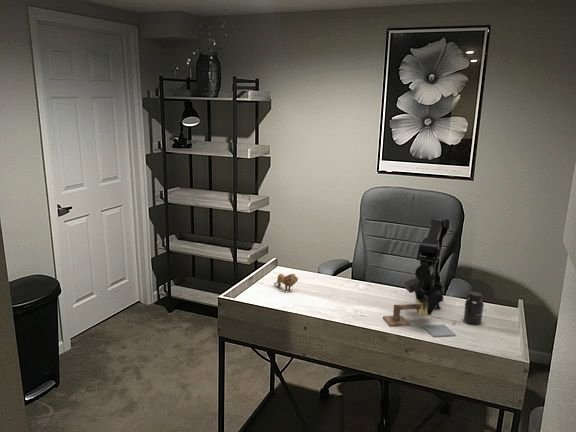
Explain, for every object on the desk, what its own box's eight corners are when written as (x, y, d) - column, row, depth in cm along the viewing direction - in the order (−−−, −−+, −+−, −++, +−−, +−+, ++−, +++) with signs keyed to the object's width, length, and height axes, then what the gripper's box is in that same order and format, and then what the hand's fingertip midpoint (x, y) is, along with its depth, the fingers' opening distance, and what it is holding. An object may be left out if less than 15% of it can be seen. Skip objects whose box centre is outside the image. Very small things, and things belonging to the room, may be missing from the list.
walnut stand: (430, 316, 198) (431, 300, 197) (439, 324, 191) (440, 308, 189) (382, 318, 195) (384, 302, 194) (390, 326, 187) (391, 310, 186)
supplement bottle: (479, 326, 189) (482, 298, 187) (461, 322, 193) (464, 294, 190) (482, 320, 195) (486, 293, 193) (465, 316, 199) (468, 289, 196)
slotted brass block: (426, 311, 196) (428, 298, 195) (431, 315, 191) (433, 303, 190) (415, 311, 195) (416, 299, 194) (420, 316, 190) (421, 303, 189)
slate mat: (444, 325, 189) (444, 324, 189) (455, 336, 181) (455, 334, 181) (423, 326, 188) (423, 325, 188) (433, 337, 179) (433, 335, 179)
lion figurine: (299, 292, 221) (300, 273, 220) (291, 295, 218) (292, 276, 216) (277, 284, 232) (278, 266, 230) (269, 286, 228) (269, 268, 226)
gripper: (398, 266, 197) (396, 301, 200) (418, 281, 179) (414, 320, 182) (424, 265, 199) (421, 300, 202) (445, 280, 181) (442, 319, 184)
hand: (423, 309), depth 193 cm, fingers open, 9 cm apart
